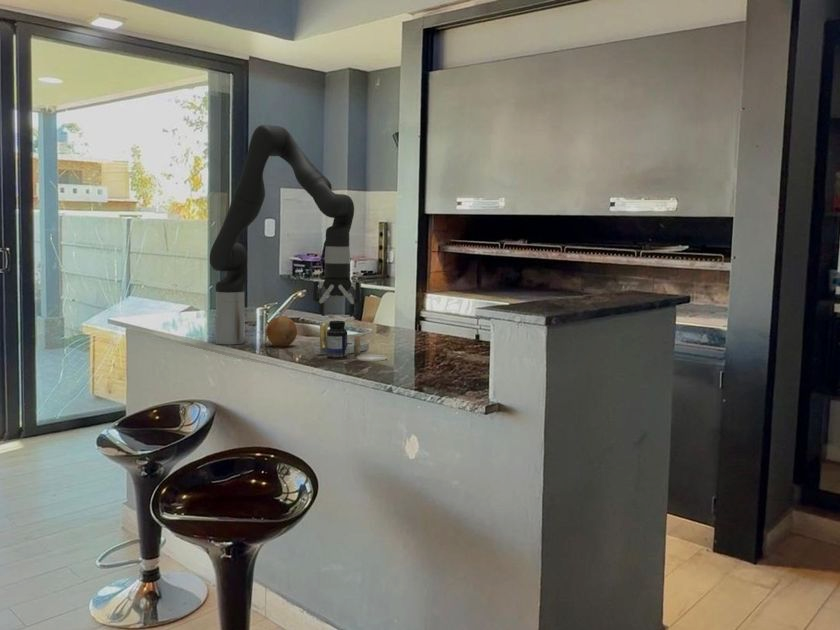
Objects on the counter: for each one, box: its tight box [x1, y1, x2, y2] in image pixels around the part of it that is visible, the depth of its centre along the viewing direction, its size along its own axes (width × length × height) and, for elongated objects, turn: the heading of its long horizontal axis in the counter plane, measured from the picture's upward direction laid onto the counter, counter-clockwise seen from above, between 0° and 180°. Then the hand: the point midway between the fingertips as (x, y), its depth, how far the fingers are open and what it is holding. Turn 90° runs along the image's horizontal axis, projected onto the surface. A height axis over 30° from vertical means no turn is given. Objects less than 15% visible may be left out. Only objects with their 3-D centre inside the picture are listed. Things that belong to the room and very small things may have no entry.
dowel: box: [353, 335, 361, 357], centre depth 235 cm, size 2×2×6 cm
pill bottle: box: [326, 320, 348, 360], centre depth 231 cm, size 6×6×11 cm
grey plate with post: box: [313, 322, 370, 356], centre depth 242 cm, size 18×12×9 cm
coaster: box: [356, 353, 388, 362], centre depth 231 cm, size 9×9×1 cm
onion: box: [266, 315, 298, 348], centre depth 251 cm, size 10×10×10 cm
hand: (337, 316), depth 230 cm, fingers open, 8 cm apart
